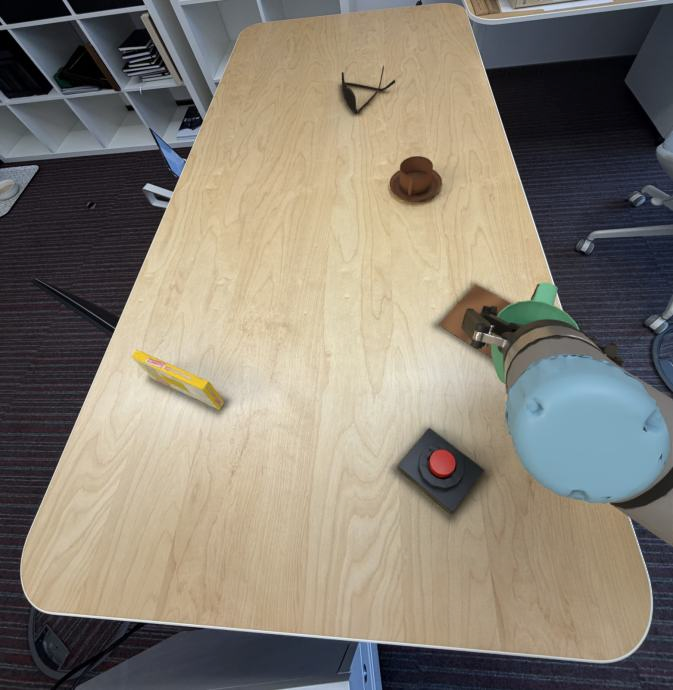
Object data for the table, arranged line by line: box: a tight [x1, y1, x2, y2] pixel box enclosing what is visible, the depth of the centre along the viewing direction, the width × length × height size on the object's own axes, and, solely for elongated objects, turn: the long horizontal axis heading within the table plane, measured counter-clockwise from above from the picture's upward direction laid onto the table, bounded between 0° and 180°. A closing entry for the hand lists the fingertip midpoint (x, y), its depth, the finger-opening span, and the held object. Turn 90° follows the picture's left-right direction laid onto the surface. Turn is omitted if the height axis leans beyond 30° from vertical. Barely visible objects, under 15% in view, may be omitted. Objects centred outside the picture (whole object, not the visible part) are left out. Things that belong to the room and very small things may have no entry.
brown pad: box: [438, 284, 512, 359], centre depth 76 cm, size 12×12×1 cm
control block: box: [397, 427, 485, 515], centre depth 62 cm, size 10×8×4 cm
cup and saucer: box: [389, 155, 443, 203], centre depth 95 cm, size 12×12×6 cm
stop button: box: [429, 450, 456, 477], centre depth 60 cm, size 4×4×2 cm
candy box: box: [130, 349, 225, 411], centre depth 73 cm, size 16×2×8 cm, turn 64°
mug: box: [491, 282, 580, 386], centre depth 54 cm, size 15×10×10 cm
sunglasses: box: [341, 65, 396, 114], centre depth 119 cm, size 17×14×5 cm
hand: (529, 325), depth 56 cm, fingers closed on mug, 9 cm apart
